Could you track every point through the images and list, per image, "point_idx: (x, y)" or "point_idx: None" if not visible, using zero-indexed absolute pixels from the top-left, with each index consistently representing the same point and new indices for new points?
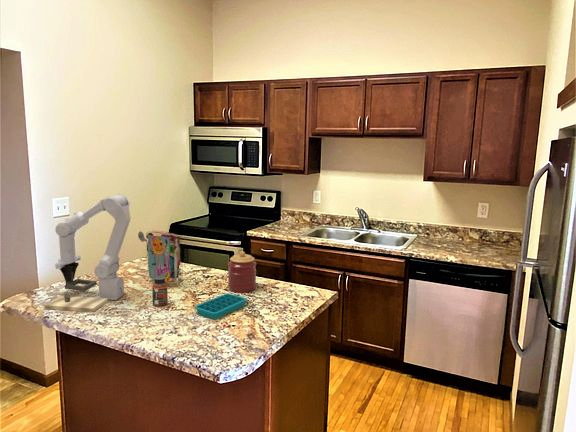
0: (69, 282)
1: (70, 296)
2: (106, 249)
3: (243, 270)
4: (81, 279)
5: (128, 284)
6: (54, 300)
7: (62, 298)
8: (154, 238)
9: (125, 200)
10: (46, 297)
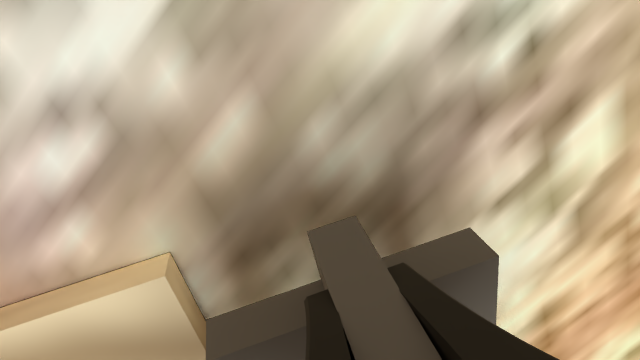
0: None
1: (197, 350)
2: None
3: None
4: (489, 306)
5: (606, 349)
6: (13, 336)
7: (109, 346)
8: None
9: None
10: (98, 49)
